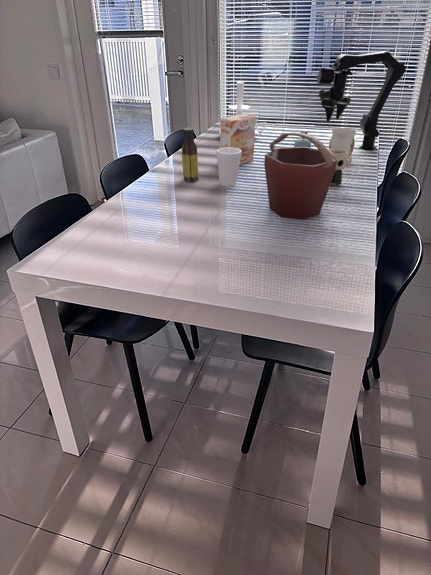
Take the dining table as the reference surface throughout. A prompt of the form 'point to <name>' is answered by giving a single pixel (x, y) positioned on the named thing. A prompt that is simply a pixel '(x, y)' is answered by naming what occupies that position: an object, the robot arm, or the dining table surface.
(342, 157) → the character mug
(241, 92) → the candlestick
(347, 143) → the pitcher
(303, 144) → the tiered round stand
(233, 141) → the coffeecake box
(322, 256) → the dining table surface
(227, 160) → the foam cup
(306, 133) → the knob
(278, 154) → the bucket
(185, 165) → the sauce bottle
